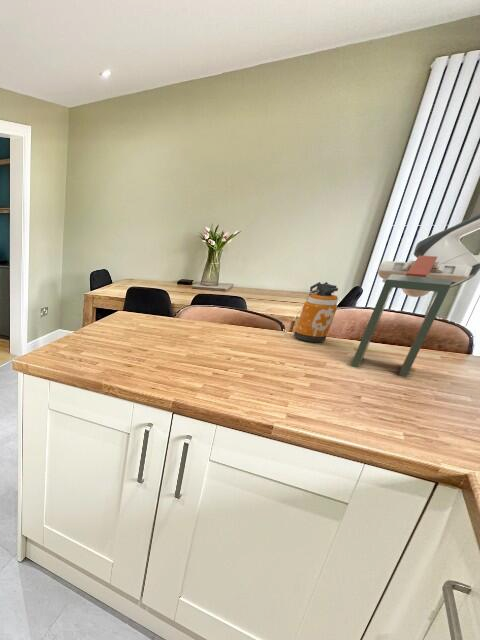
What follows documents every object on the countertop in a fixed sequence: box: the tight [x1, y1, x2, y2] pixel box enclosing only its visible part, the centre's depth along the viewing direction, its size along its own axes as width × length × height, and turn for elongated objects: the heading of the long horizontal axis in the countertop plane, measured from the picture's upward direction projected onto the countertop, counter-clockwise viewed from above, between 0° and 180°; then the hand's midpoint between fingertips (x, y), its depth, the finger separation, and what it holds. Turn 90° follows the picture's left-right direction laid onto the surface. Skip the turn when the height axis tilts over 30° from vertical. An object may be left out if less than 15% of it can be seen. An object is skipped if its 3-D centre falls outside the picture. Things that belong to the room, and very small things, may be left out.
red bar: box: [406, 256, 437, 277], centre depth 121 cm, size 4×22×4 cm, turn 130°
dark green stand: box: [350, 274, 452, 378], centre depth 115 cm, size 12×11×26 cm
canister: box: [293, 281, 339, 343], centre depth 141 cm, size 9×11×20 cm
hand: (423, 263), depth 124 cm, fingers closed on red bar, 4 cm apart
